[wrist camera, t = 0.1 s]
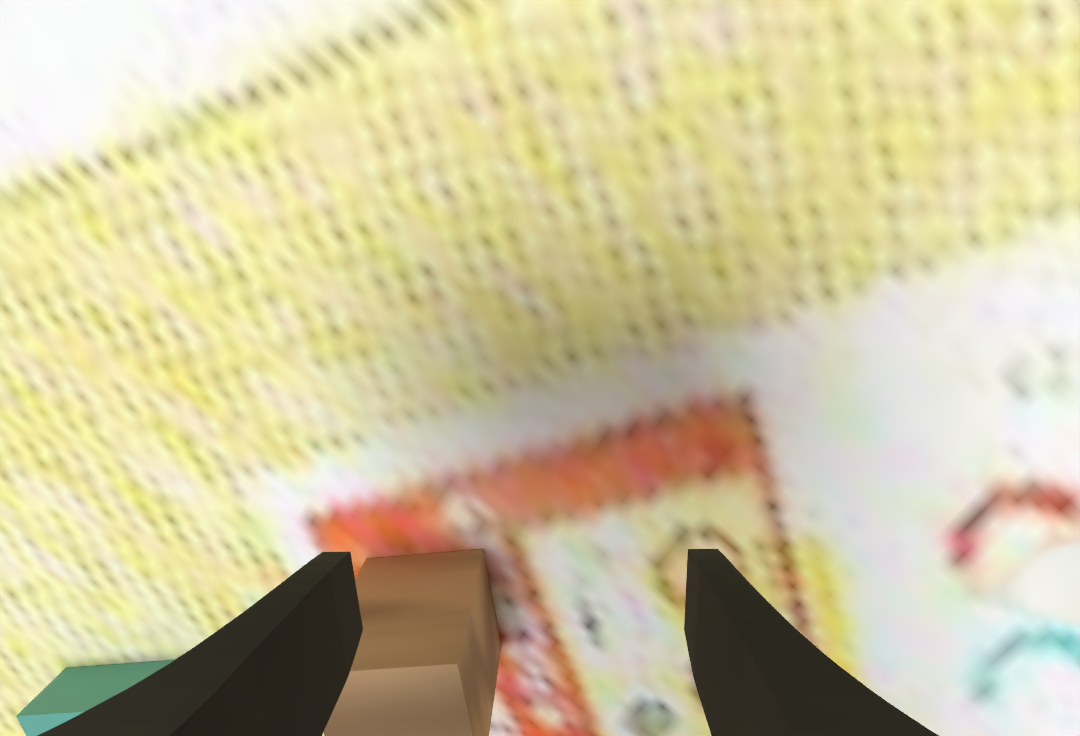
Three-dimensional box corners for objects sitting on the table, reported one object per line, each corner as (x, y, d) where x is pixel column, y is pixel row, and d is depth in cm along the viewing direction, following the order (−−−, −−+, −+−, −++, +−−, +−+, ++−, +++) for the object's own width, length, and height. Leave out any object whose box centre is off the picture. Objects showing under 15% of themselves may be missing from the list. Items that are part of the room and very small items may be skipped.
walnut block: (501, 644, 25) (482, 779, 20) (391, 652, 26) (341, 786, 20) (483, 547, 24) (457, 663, 18) (366, 557, 24) (304, 674, 18)
